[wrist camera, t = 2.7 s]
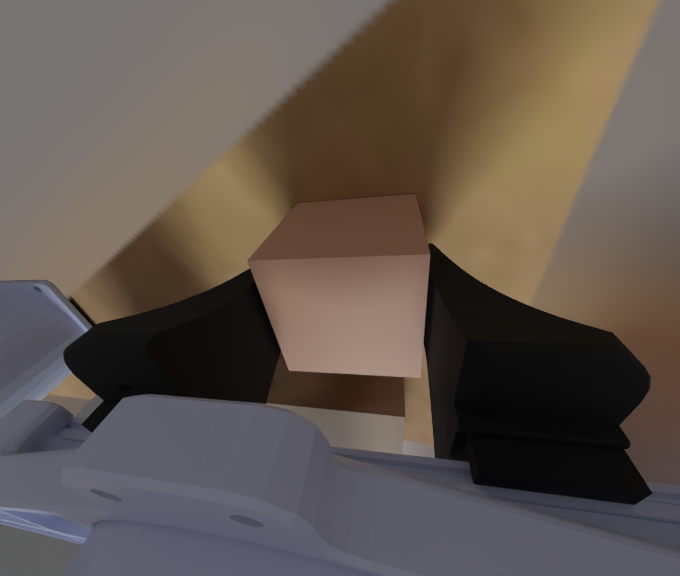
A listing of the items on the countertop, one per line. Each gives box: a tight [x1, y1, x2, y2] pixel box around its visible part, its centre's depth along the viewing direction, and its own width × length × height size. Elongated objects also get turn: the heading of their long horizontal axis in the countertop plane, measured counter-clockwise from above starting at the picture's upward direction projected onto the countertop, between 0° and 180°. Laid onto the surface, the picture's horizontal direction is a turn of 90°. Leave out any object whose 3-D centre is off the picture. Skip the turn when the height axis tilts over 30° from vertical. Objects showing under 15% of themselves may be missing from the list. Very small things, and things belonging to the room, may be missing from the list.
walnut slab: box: [266, 352, 405, 454], centre depth 18 cm, size 8×7×4 cm
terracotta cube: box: [248, 194, 430, 378], centre depth 10 cm, size 5×5×5 cm
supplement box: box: [0, 395, 104, 576], centre depth 16 cm, size 7×7×13 cm
